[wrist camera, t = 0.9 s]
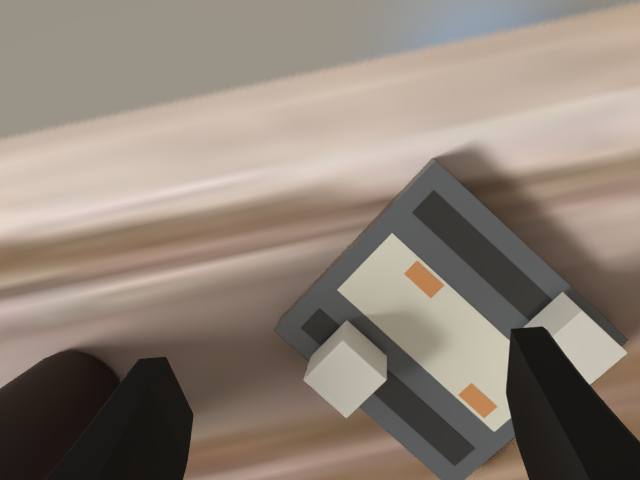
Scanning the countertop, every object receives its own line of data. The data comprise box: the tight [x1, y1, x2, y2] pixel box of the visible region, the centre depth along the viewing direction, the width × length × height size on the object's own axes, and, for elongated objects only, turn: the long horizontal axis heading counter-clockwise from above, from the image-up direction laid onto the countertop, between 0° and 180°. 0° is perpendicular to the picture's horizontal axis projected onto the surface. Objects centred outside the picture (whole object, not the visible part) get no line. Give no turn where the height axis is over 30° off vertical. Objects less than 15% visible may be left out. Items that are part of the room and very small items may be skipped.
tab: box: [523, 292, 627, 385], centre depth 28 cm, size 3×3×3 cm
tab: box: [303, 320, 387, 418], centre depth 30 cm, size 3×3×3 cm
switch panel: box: [274, 158, 628, 480], centre depth 32 cm, size 14×13×2 cm
